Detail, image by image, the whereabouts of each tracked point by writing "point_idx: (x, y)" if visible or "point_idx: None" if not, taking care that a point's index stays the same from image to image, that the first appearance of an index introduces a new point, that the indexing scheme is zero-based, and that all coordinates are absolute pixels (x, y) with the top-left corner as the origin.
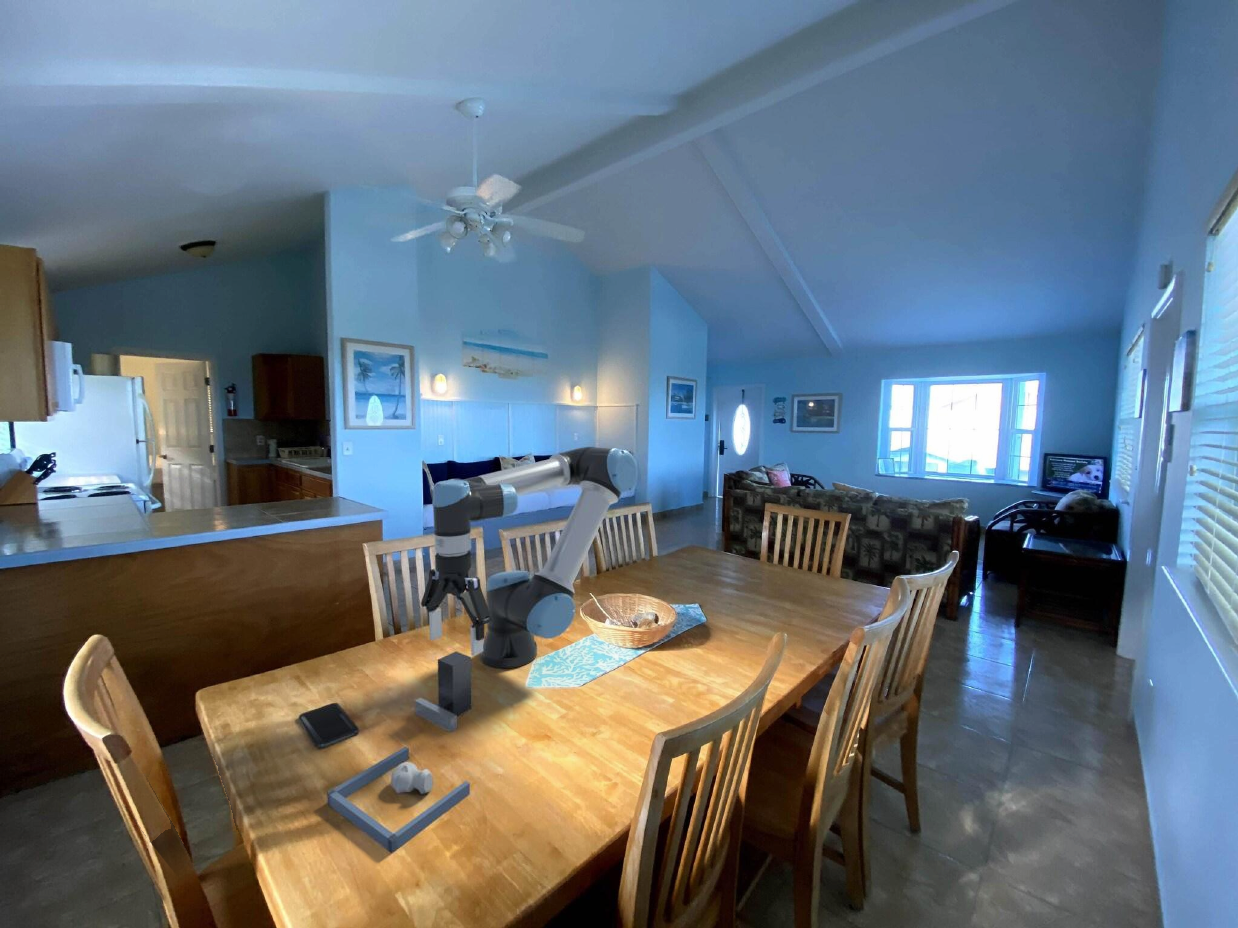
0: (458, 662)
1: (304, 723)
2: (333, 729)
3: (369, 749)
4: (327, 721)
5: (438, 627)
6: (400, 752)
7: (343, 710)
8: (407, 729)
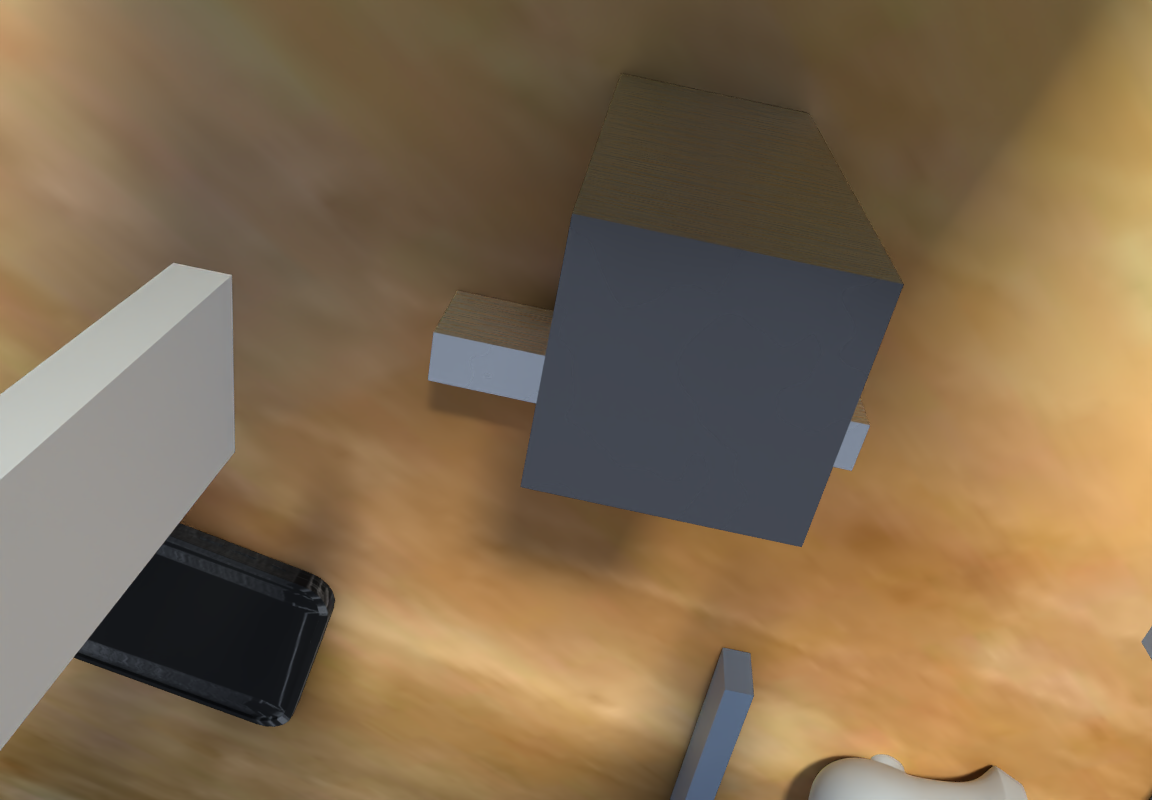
0: (818, 461)
1: None
2: (199, 622)
3: (503, 657)
4: None
5: (139, 439)
6: (735, 726)
7: None
8: None
